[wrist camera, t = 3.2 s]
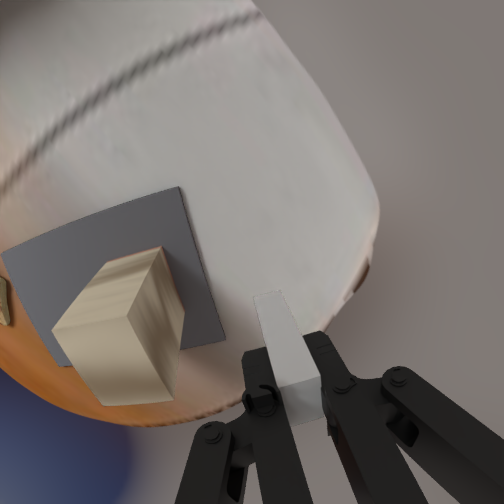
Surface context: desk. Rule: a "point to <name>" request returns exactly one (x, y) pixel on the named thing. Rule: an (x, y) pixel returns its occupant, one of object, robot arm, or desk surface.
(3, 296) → the shard
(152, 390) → the birch block
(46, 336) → the rubber mat
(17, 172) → the desk surface
